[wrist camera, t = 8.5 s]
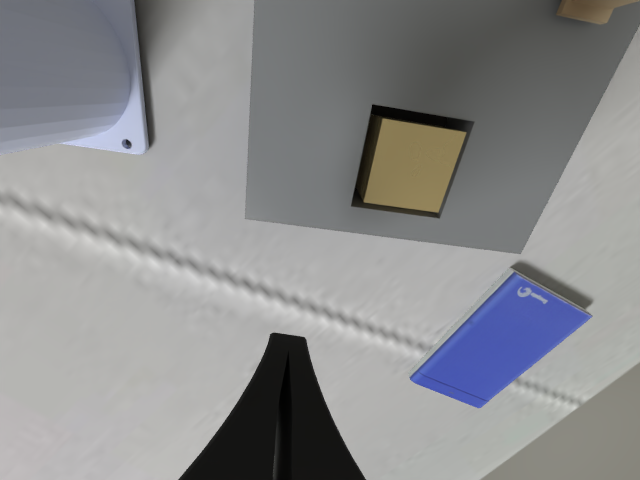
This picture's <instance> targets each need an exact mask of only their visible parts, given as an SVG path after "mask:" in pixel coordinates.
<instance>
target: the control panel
mask: <svg viewBox="0 0 640 480" xmlns="http://www.w3.org/2000/svg"><path fill="white" fill-rule="evenodd" d="M561 1H562V0H255V2H254V25H253V48H252V70H251V93H250V116H249V139H248V162H247V185H246V208H245V219H249V220H257V221H265V222H273V223H281V224H288V225H296V226H304V227H312V228H320V229H328V230H335V231H343V232H351V233H359V234H367V235H375V236H382V237H390V238H398V239H406V240H414V241H421V242H429V243H437V244H445V245H453V246H461V247H468V248H476V249H484V250H492V251H500V252H508V253H515V254H521V252H522V250H523V248H524V247H525V245H526V243H527V241H528V239H529V237H530V235H531V233H532V231H533V229H534V227H535V225H536V223H537V221H538V220H539V218H540V216H541V214H542V212H543V210H544V208H545V206H546V204H547V202H548V200H549V198H550V196H551V194H552V193H553V191H554V189H555V187H556V185H557V183H558V181H559V179H560V177H561V175H562V173H563V171H564V169H565V168H566V166H567V164H568V162H569V160H570V158H571V156H572V154H573V152H574V150H575V148H576V146H577V144H578V142H579V141H580V139H581V137H582V135H583V133H584V131H585V129H586V127H587V125H588V123H589V121H590V119H591V117H592V115H593V114H594V112H595V110H596V108H597V106H598V104H599V102H600V100H601V98H602V96H603V94H604V92H605V90H606V88H607V87H608V85H609V83H610V81H611V79H612V77H613V75H614V73H615V71H616V69H617V67H618V65H619V63H620V61H621V60H622V58H623V56H624V54H625V52H626V50H627V48H628V46H629V44H630V42H631V40H632V38H633V36H634V34H635V33H636V31H637V29H638V27H639V25H640V1H638V2H634V3H630V4H627V5H623V6H620V7H616V8H614V9H613V11H612V14H611V16H610V18H609V20H608V22H607V23H605V24H596V23H591V22H586V21H581V20H577V19H572V18H567V17H563V16H558V15H556V13H557V11H558V8H559V6H560V3H561ZM372 104H374V105H380V106H386V107H392V108H398V109H404V110H410V111H415V112H421V113H427V114H433V115H439V116H445V117H448V120H447V123H446V126H445V127H447V128H451V129H455V130H459V131H463V132H467V133H466V136H465V138H464V141H463V144H462V147H461V150H460V153H459V155H458V158H457V161H456V164H455V167H454V170H453V172H452V175H451V178H450V181H449V184H448V187H447V189H446V192H445V195H444V198H443V201H442V204H441V206H440V209H439V212H438V213H437V212H430V211H423V210H416V209H408V208H401V207H394V206H387V205H379V204H372V203H365V202H363V200H362V198H361V196H360V194H359V192H356V191H354V189H355V184H356V179H357V174H358V170H359V165H360V160H361V155H362V151H363V146H364V141H365V136H366V132H367V127H368V122H369V117H370V113H371V108H372Z"/></svg>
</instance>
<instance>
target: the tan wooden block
mask: <svg viewBox="0 0 640 480" xmlns="http://www.w3.org/2000/svg"><path fill="white" fill-rule="evenodd" d="M638 1H640V0H562V1H561V3H560V6H559V8H558V11H557V13H556V15H558V16H563V17H567V18H572V19H577V20H581V21H586V22H591V23H596V24H605V23H607V22H608V20H609V18H610V16H611V14H612V11H613V9H614V8H616V7H620V6H623V5H627V4H630V3H634V2H638Z"/></svg>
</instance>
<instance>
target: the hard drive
mask: <svg viewBox="0 0 640 480" xmlns="http://www.w3.org/2000/svg"><path fill="white" fill-rule="evenodd" d="M591 317H592V315H591V314H590V313H589V312H588V311H586V310H585V309H584V308H582V307H580V306H579V305H577V304H575V303H573V302H571V301H570V300H568V299H566V298H564V297H562V296H561V295H559V294H557V293H555V292H553V291H552V290H550V289H548V288H546V287H544V286H543V285H541V284H539V283H537V282H535V281H534V280H532V279H530V278H528V277H527V276H525V275H523V274H521V273H519V272H518V271H516V270H514V269H512V268H509V269H508V270H507V271H506V272H505V273H504V274H503V275H502V276H501V277H500V278H499V279H498V280H497V281H496V282H495V283H494V284H493V285H492V286H491V287H490V288H489V289H488V290H487V291H486V292H485V293H484V294H483V295H482V296H481V298H480V299H479V300H478V301H477V302H476V303H475V304H474V305H473V306H472V307H471V308H470V309H469V310H468V311H467V312H466V313H465V314H464V315H463V316H462V317H461V318H460V319H459V320H458V321H457V322H456V323H455V324H454V325H453V326H452V328H451V329H450V330H449V331H448V332H447V333H446V334H445V335H444V336H443V337H442V338H441V339H440V340H439V341H438V342H437V343H436V344H435V345H434V346H433V347H432V348H431V349H430V350H429V351H428V352H427V353H426V355H425V356H424V357H423V358H422V359H421V360H420V361H419V362H418V363H417V364H416V365H415V366H414V367H413V368H412V369H411V370H410V371H409V372H408V374H409V378H410V380H411V381H413V382H414V383H416V384H418V385H421V386H423V387H426V388H429V389H431V390H433V391H436V392H439V393H441V394H444V395H446V396H449V397H451V398H454V399H456V400H459V401H461V402H464V403H466V404H469V405H472V406H474V407H477V408H481V407H482V406H484V405H485V404H486V403H487V402H488V401H489V400H490V399H492V398H493V397H494V396H495V395H496V394H498V393H499V392H500V391H501V390H503V389H504V388H505V387H506V386H508V385H509V384H510V383H511V382H512V381H514V380H515V379H516V378H517V377H519V376H520V375H521V374H522V373H524V372H525V371H526V370H527V369H529V368H530V367H531V366H532V365H533V364H535V363H536V362H537V361H539V360H540V359H541V358H542V357H543V356H544V355H546V354H547V353H548V352H549V351H551V350H552V349H553V348H554V347H556V346H557V345H558V344H559V343H561V342H562V341H563V340H564V339H565V338H567V337H568V336H569V335H570V334H572V333H573V332H574V331H575V330H576V329H578V328H579V327H580V326H582V325H583V324H584V323H585V322H586V321H588V320H589V319H590V318H591Z"/></svg>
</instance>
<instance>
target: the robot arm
mask: <svg viewBox="0 0 640 480" xmlns="http://www.w3.org/2000/svg"><path fill="white" fill-rule="evenodd" d="M126 139H127V140H129V141H130V142H131V144H132V147H131V148H130V147H128V146H127V144H126ZM58 143H61V144H68V145H75V146H82V147H89V148H96V149H103V150H110V151H117V152H124V153H131V154H138V155H139V154H144V153H146V152H147V151H148V149H149V143H148V133H147V123H146V113H145V103H144V93H143V83H142V73H141V63H140V53H139V43H138V33H137V23H136V13H135V3H134V0H0V155H3V154H8V153H13V152H18V151H23V150H28V149H33V148H38V147H43V146H48V145H53V144H58ZM274 455H275V457H274ZM273 471H274V473H273ZM179 480H366V479H365V477H364V476H363V474H362V472H361V471H360V469H359V467H358V466H357V464H356V462H355V461H354V459H353V457H352V456H351V454H350V452H349V450H348V448H347V446H346V445H345V443H344V441H343V439H342V437H341V435H340V433H339V431H338V429H337V427H336V425H335V423H334V421H333V418H332V416H331V414H330V412H329V409H328V407H327V405H326V402H325V400H324V397H323V395H322V392H321V389H320V387H319V384H318V381H317V378H316V375H315V372H314V369H313V366H312V362H311V359H310V355H309V351H308V347H307V341H306V339H305V337H300V336H293V335H287V334H280V333H272V334H270V338H269V342H268V345H267V348H266V350H265V353H264V355H263V357H262V359H261V362H260V363H259V365H258V367H257V369H256V371H255V373H254V375H253V377H252V379H251V381H250V382H249V384H248V386H247V387H246V389H245V391H244V392H243V394H242V396H241V397H240V399H239V401H238V402H237V404H236V405H235V407H234V408H233V410H232V411H231V413H230V414H229V416H228V417H227V419H226V420H225V421H224V423H223V424H222V426H221V427H220V428H219V430H218V431H217V432H216V434H215V435H214V436H213V438H212V439H211V440H210V442H209V443H208V444H207V446H206V447H205V448H204V450H203V451H202V452H201V453H200V455H199V456H198V457H197V458H196V459H195V461H194V462H193V463H192V464H191V465H190V466H189V468H188V469H187V470H186V471H185V472H184V474H183V475H182V476H181V477H180V478H179Z"/></svg>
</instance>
